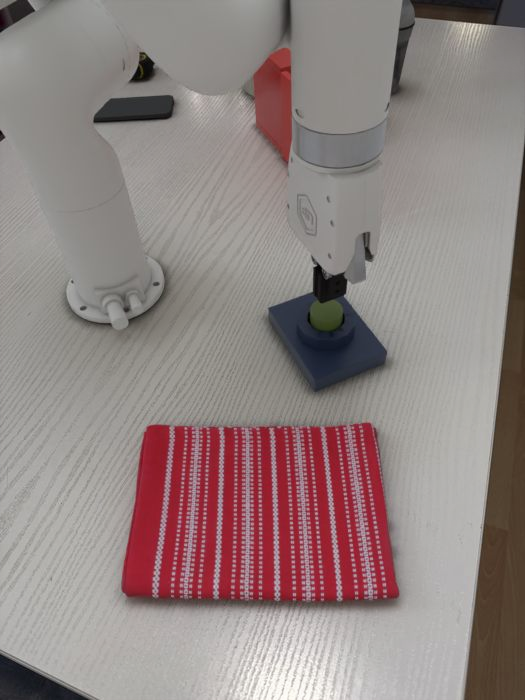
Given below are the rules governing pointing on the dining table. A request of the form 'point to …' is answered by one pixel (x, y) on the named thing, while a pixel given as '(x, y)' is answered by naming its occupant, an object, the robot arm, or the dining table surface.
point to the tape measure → (143, 66)
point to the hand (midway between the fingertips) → (329, 294)
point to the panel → (326, 342)
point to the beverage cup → (402, 41)
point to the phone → (135, 108)
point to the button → (326, 315)
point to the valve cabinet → (271, 95)
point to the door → (286, 114)
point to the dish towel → (260, 515)
